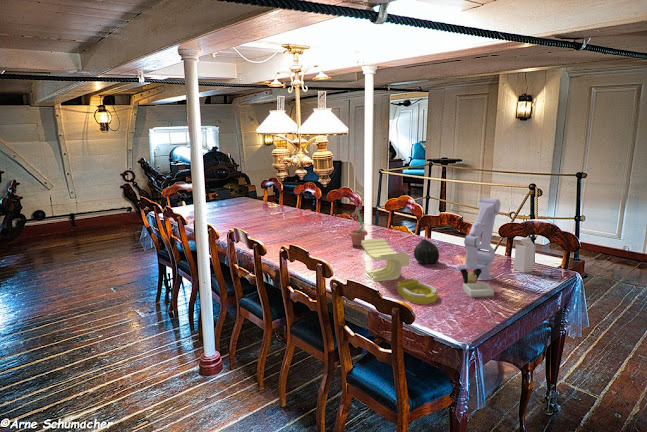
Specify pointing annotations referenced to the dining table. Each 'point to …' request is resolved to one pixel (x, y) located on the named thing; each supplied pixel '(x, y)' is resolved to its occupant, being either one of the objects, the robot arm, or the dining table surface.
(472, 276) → the tea tin
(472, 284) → the tote
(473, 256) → the robot arm
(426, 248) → the squash
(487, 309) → the dining table surface
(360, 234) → the decorative flower
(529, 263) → the milk carton
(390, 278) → the slatted curved stool
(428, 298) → the ashtray
